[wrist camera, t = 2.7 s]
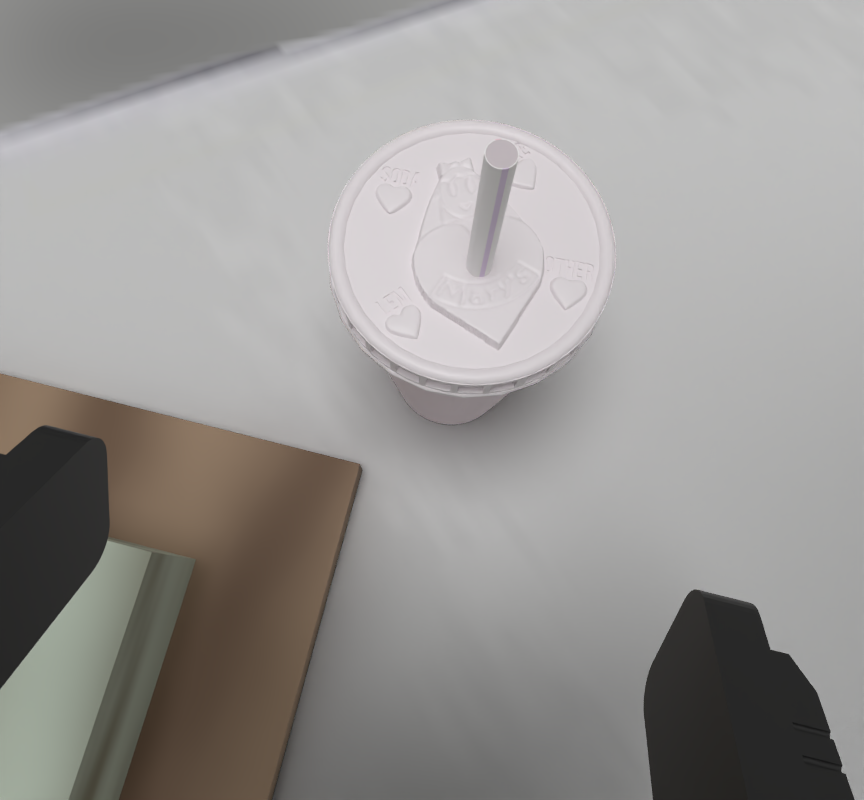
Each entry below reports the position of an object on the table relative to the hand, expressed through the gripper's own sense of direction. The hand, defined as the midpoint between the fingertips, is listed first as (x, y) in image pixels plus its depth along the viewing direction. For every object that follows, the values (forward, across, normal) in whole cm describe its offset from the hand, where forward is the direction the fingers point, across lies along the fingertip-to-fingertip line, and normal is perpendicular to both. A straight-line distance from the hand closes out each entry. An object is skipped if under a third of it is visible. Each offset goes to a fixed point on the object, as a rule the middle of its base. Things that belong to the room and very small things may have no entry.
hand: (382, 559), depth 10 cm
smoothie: (+15, 0, +5) cm, 16 cm away
